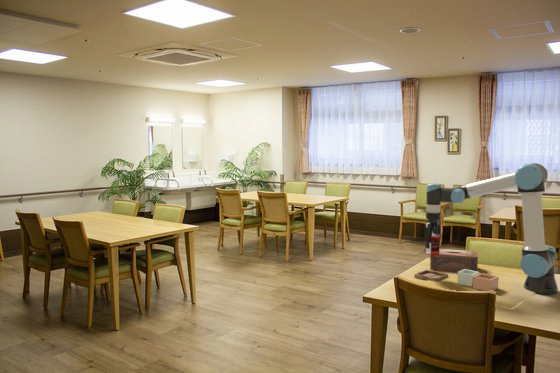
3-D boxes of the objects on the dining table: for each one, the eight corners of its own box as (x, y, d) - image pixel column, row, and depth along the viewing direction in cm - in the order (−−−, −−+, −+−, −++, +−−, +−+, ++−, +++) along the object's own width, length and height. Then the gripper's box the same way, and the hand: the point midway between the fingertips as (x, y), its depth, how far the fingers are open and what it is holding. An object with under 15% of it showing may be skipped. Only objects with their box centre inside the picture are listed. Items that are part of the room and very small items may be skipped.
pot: (497, 289, 244) (498, 276, 244) (490, 293, 238) (491, 280, 238) (480, 286, 251) (480, 273, 250) (472, 289, 245) (473, 276, 244)
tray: (447, 277, 266) (447, 274, 266) (436, 282, 257) (436, 278, 257) (426, 273, 275) (426, 269, 275) (414, 277, 266) (414, 274, 266)
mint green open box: (478, 284, 253) (479, 271, 252) (472, 288, 247) (472, 274, 247) (464, 281, 259) (464, 269, 258) (457, 284, 253) (457, 271, 252)
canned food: (427, 251, 270) (428, 232, 269) (441, 253, 265) (442, 234, 264) (422, 254, 264) (422, 234, 263) (436, 256, 259) (436, 236, 258)
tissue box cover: (476, 267, 287) (477, 251, 286) (477, 274, 273) (477, 257, 272) (431, 264, 296) (432, 248, 295) (430, 269, 283) (430, 253, 282)
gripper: (436, 209, 272) (434, 248, 274) (417, 213, 258) (416, 254, 260) (448, 210, 267) (447, 250, 269) (430, 214, 252) (429, 257, 255)
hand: (432, 252), depth 264 cm, fingers closed on canned food, 8 cm apart
